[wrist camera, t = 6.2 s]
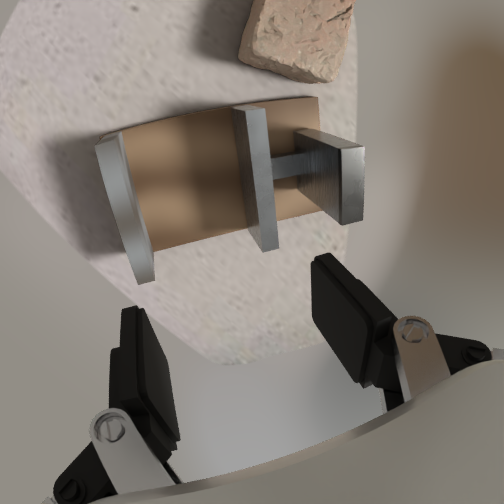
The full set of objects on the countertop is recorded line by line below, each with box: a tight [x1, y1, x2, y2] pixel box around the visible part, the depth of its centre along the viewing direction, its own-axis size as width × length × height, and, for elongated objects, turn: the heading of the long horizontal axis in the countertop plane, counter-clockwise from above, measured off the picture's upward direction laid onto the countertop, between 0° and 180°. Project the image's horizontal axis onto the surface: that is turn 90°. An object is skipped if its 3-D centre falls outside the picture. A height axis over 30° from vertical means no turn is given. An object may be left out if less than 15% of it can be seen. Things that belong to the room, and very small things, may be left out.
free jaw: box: [231, 105, 365, 252], centre depth 25 cm, size 12×8×8 cm, turn 7°
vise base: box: [94, 97, 323, 285], centre depth 27 cm, size 12×20×6 cm, turn 97°
